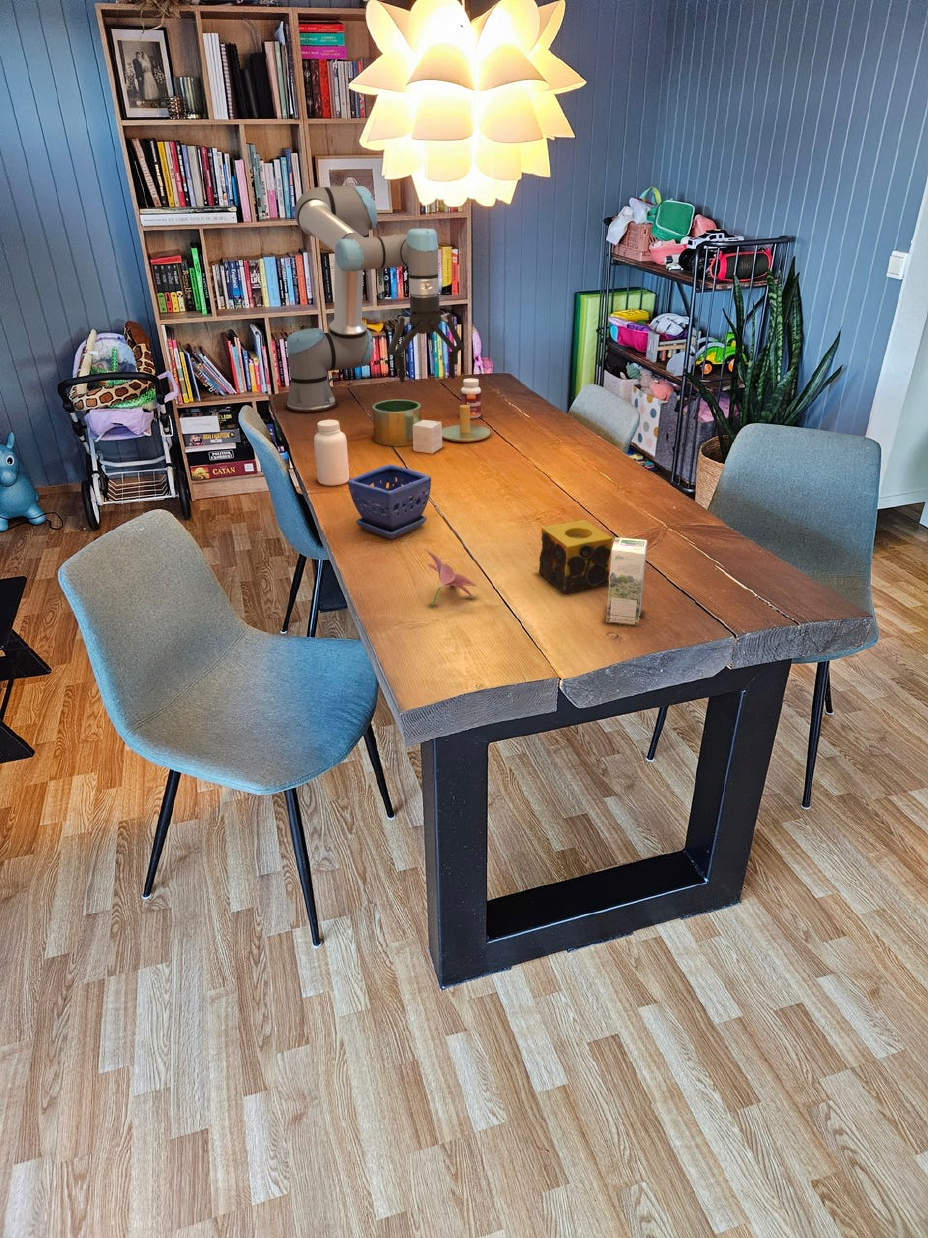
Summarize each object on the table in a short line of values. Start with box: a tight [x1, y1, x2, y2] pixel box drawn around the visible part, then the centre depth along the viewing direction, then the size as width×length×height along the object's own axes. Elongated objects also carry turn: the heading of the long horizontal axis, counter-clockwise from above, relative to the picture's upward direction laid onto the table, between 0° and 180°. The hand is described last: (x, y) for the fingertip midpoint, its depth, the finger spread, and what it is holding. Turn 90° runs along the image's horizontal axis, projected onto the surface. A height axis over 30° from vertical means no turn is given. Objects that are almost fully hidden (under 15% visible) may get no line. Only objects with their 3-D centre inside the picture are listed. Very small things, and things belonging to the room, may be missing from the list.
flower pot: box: [347, 464, 432, 540], centre depth 191 cm, size 13×13×12 cm
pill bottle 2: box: [460, 377, 482, 419], centre depth 268 cm, size 6×6×11 cm
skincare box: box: [412, 419, 443, 455], centre depth 241 cm, size 6×6×7 cm
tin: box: [371, 399, 422, 447], centre depth 249 cm, size 14×14×10 cm
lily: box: [424, 548, 478, 607], centre depth 162 cm, size 12×12×10 cm
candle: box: [538, 519, 613, 594], centre depth 168 cm, size 10×10×10 cm
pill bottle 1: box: [313, 419, 350, 487], centre depth 218 cm, size 8×8×15 cm
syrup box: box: [605, 536, 648, 627], centre depth 153 cm, size 6×6×14 cm
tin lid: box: [442, 404, 491, 443], centre depth 251 cm, size 15×15×9 cm
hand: (427, 379), depth 234 cm, fingers open, 13 cm apart
